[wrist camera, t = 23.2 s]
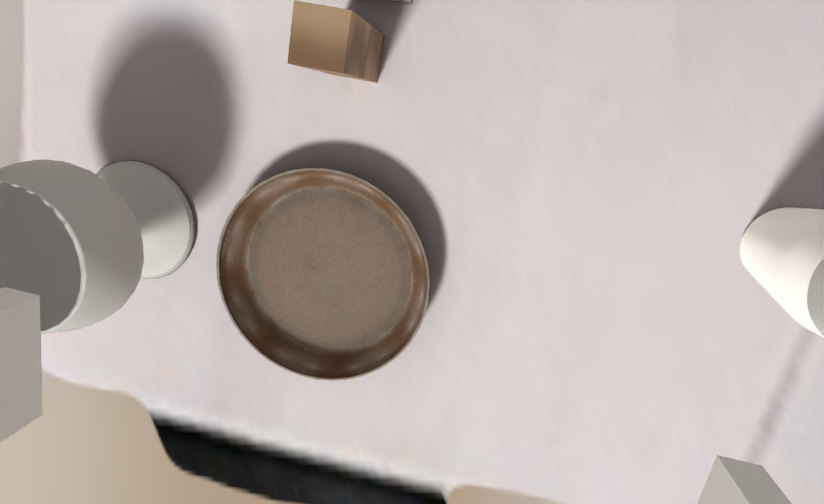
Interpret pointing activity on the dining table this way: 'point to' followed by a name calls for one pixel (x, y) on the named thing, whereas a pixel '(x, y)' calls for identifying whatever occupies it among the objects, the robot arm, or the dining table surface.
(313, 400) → the dining table surface
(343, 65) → the brown wooden block
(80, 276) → the chalice
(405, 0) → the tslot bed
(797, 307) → the cup
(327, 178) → the plant saucer
